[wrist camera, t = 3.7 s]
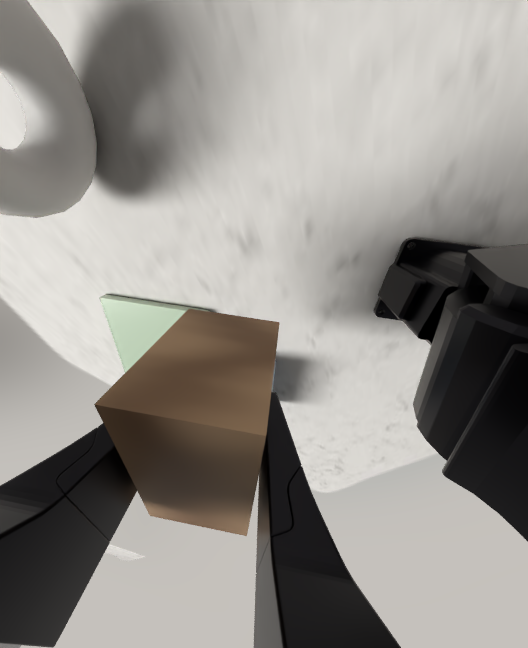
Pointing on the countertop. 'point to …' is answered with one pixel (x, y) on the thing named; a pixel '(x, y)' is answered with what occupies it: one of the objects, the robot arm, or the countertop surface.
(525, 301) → the robot arm
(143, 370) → the walnut brick
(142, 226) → the countertop surface
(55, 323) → the countertop surface
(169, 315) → the baseplate
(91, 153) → the donut
